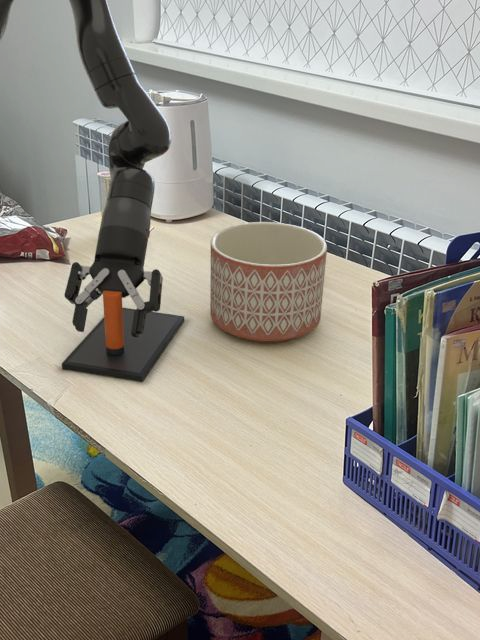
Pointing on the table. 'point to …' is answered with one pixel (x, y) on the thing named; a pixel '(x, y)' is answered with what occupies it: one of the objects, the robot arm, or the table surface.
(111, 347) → the orange peg
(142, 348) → the tablet
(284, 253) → the planter
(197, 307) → the table surface
